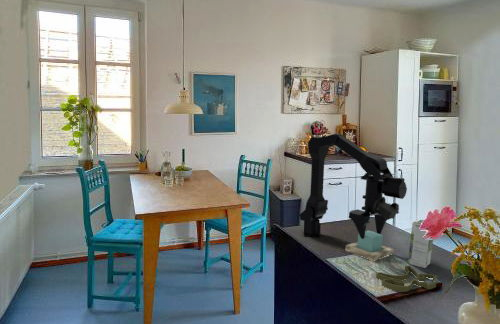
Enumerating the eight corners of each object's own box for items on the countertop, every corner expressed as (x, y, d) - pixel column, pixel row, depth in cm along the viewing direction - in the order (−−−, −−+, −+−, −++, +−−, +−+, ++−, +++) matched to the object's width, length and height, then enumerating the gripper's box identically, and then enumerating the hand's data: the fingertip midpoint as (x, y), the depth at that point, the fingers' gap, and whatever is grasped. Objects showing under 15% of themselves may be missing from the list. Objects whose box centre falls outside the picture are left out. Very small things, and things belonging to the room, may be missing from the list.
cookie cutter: (412, 270, 121) (412, 264, 120) (445, 286, 110) (446, 280, 110) (369, 279, 113) (370, 273, 113) (401, 298, 102) (401, 291, 102)
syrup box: (412, 259, 129) (416, 218, 127) (431, 263, 126) (435, 221, 124) (407, 263, 125) (411, 221, 123) (426, 268, 121) (430, 225, 119)
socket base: (372, 261, 126) (373, 254, 126) (342, 249, 137) (342, 242, 136) (395, 254, 134) (396, 247, 133) (365, 243, 144) (366, 236, 144)
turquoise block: (370, 257, 130) (372, 237, 129) (356, 251, 135) (358, 233, 134) (381, 254, 133) (382, 235, 133) (367, 248, 138) (368, 230, 137)
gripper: (376, 201, 119) (373, 248, 121) (410, 195, 130) (406, 238, 132) (349, 194, 128) (346, 238, 130) (382, 189, 139) (379, 230, 141)
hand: (370, 236), depth 133 cm, fingers open, 9 cm apart
